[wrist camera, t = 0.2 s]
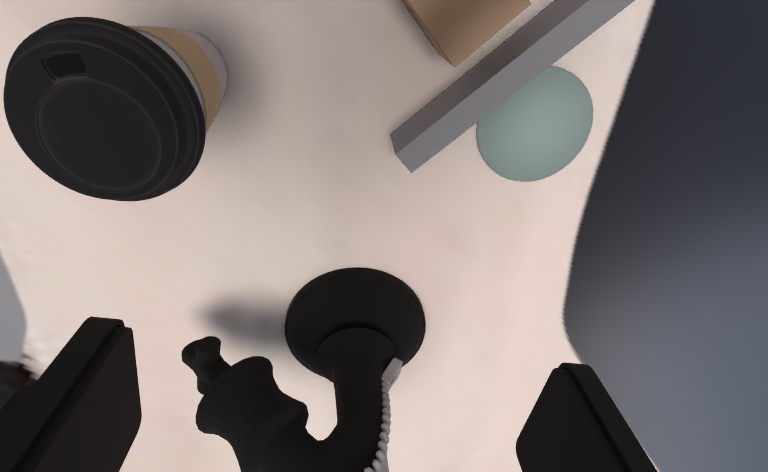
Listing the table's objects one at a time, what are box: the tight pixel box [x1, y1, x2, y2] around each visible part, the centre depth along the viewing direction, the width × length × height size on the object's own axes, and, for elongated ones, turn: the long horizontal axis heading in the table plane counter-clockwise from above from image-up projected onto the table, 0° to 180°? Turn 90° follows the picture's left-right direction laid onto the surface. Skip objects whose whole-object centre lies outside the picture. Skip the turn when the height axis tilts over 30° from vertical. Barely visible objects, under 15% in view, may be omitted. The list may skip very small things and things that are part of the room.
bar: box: [391, 0, 635, 173], centre depth 34 cm, size 2×20×5 cm, turn 129°
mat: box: [477, 66, 593, 182], centre depth 38 cm, size 10×10×1 cm
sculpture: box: [182, 268, 426, 472], centre depth 37 cm, size 15×24×25 cm, turn 80°
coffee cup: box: [4, 17, 228, 201], centre depth 28 cm, size 9×9×15 cm
